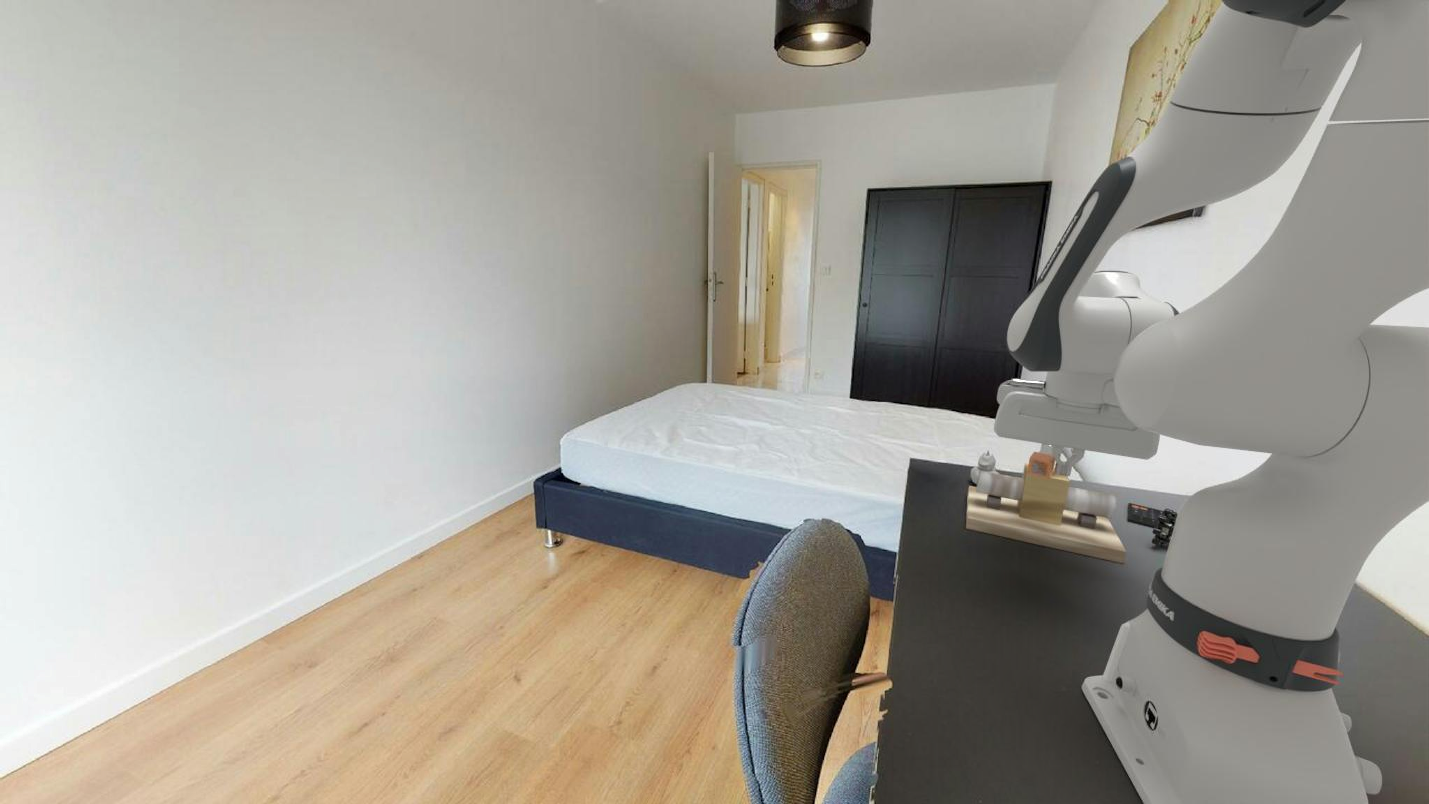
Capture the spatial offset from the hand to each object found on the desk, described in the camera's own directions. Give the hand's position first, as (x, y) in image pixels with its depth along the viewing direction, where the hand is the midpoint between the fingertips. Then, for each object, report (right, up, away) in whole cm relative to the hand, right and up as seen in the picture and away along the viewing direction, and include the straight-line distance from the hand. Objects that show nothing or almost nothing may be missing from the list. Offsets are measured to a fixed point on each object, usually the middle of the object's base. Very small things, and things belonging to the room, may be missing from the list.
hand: (1061, 474), depth 79 cm
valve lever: (+1, +1, +5) cm, 5 cm away
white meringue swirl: (+4, -7, +29) cm, 30 cm away
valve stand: (+4, -11, +12) cm, 17 cm away
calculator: (+29, -12, +15) cm, 35 cm away
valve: (+24, -14, +2) cm, 28 cm away
